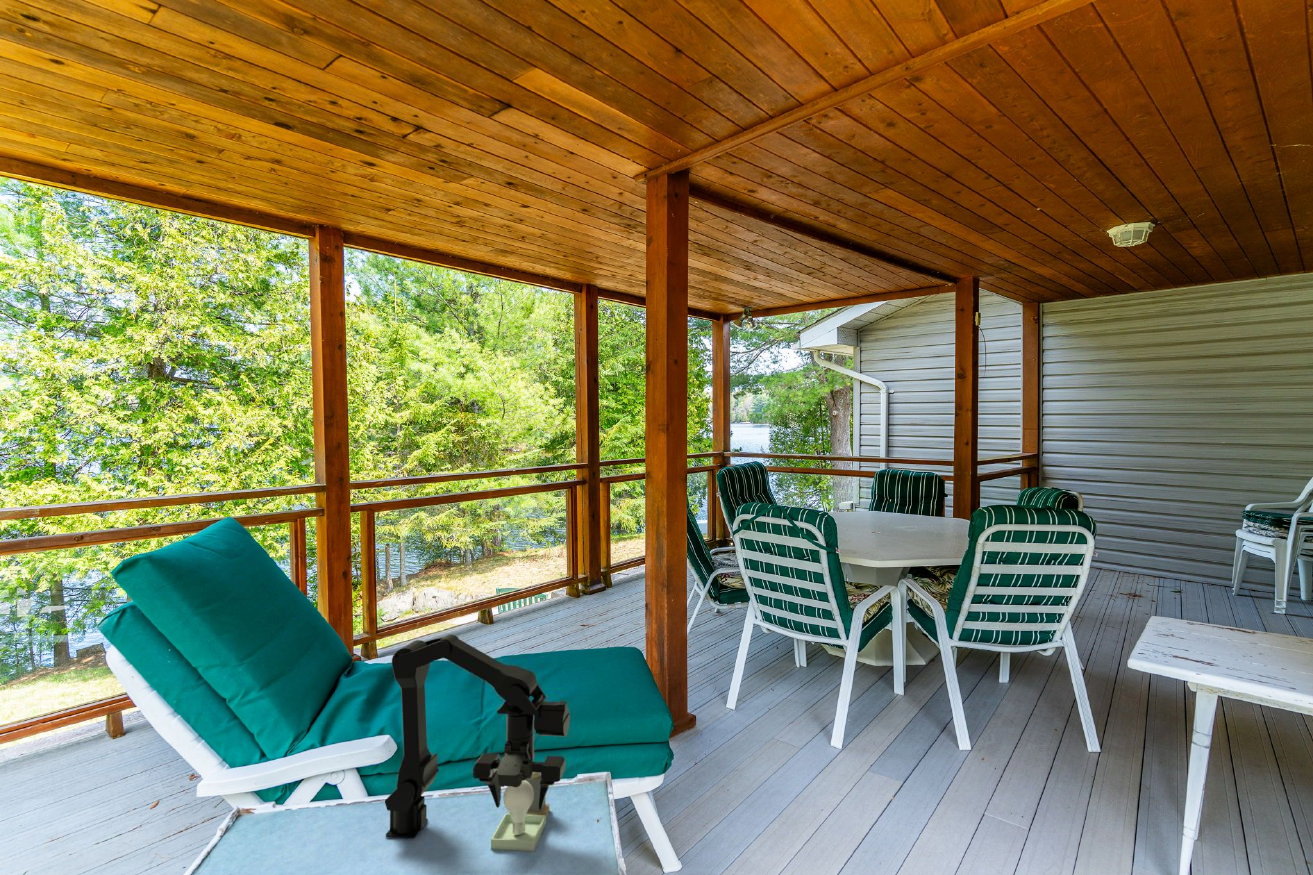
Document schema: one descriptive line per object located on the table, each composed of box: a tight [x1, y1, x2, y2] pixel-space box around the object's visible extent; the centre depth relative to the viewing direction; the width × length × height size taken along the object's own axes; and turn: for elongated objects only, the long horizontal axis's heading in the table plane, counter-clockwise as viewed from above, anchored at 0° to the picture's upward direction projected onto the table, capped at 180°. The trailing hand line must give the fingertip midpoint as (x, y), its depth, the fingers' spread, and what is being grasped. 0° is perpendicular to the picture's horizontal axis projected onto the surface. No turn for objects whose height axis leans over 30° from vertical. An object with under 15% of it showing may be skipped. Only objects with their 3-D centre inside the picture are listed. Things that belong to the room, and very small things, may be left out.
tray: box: [490, 812, 547, 852], centre depth 127 cm, size 9×9×2 cm
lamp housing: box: [525, 772, 550, 818], centre depth 136 cm, size 6×4×10 cm, turn 86°
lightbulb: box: [503, 780, 534, 835], centre depth 128 cm, size 6×6×11 cm
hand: (519, 807), depth 128 cm, fingers open, 9 cm apart
